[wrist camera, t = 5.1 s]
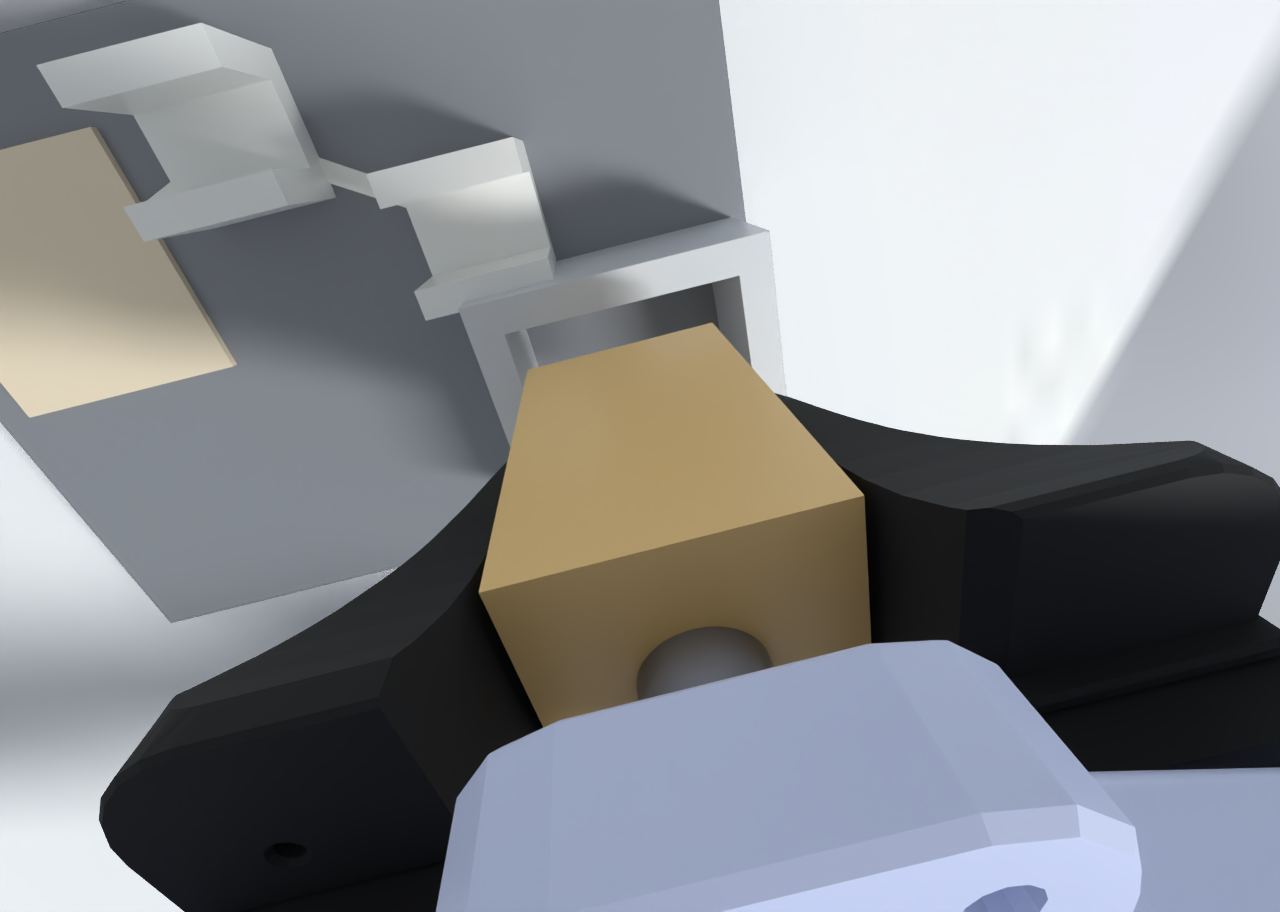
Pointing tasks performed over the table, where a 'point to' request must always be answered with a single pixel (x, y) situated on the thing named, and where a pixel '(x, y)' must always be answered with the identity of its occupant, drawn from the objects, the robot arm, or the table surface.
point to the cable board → (344, 259)
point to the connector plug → (667, 529)
